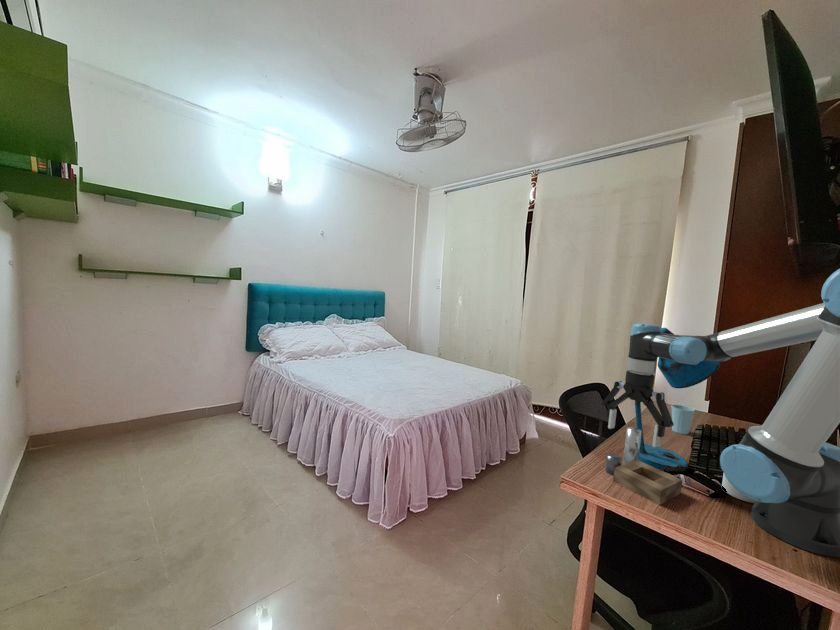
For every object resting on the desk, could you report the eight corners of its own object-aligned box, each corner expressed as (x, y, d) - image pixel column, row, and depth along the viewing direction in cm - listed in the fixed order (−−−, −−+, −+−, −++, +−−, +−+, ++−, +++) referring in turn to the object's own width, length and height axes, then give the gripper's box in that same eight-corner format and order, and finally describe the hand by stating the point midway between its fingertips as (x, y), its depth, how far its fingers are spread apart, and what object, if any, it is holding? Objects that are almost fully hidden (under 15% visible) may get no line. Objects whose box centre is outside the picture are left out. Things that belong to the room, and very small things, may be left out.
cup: (694, 433, 136) (697, 409, 136) (688, 437, 132) (691, 412, 131) (672, 426, 143) (675, 403, 142) (666, 430, 138) (668, 406, 138)
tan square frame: (680, 493, 91) (682, 479, 91) (659, 505, 85) (660, 490, 85) (635, 472, 101) (636, 459, 101) (613, 480, 96) (614, 467, 95)
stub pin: (622, 474, 100) (624, 458, 100) (615, 476, 98) (617, 460, 98) (609, 467, 103) (611, 452, 103) (602, 470, 101) (603, 454, 101)
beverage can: (770, 507, 87) (776, 464, 87) (734, 501, 89) (740, 459, 88) (746, 489, 95) (751, 450, 94) (714, 485, 97) (719, 445, 96)
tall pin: (640, 467, 105) (644, 430, 104) (633, 469, 103) (637, 432, 102) (627, 461, 108) (631, 426, 107) (620, 463, 106) (624, 427, 105)
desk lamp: (717, 479, 100) (735, 334, 97) (636, 465, 105) (651, 327, 102) (688, 455, 115) (704, 329, 112) (619, 444, 121) (632, 324, 118)
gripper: (693, 382, 95) (683, 452, 96) (608, 362, 116) (601, 419, 118) (681, 384, 91) (671, 457, 93) (595, 363, 112) (588, 422, 114)
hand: (632, 436), depth 105 cm, fingers open, 13 cm apart
